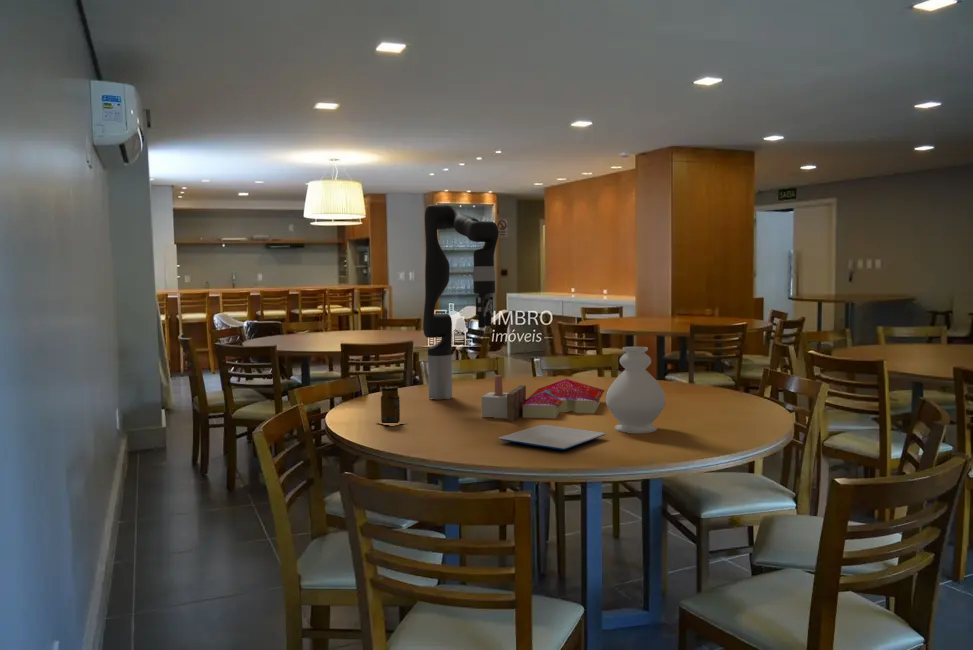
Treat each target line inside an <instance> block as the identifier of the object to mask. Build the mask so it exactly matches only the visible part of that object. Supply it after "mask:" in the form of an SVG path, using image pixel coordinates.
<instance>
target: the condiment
mask: <svg viewBox="0 0 973 650" xmlns="http://www.w3.org/2000/svg"><path fill="white" fill-rule="evenodd" d="M400 401H401V400H400V395H399V388H398V386H393V385H391V386H382V387H381V396H380V418H381V419H380V421H381V422H382V423H398V422H401V421H400V419H401V418H400V417H401V413H400V412H401V408H400V407H401V406H400Z"/></svg>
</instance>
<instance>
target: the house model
mask: <svg viewBox="0 0 973 650" xmlns="http://www.w3.org/2000/svg"><path fill="white" fill-rule="evenodd" d="M605 391H606V390H605V389H602V388H598V387H594V386H592V385H589V384H585V383H582V382H578V381H575V380H571V379H568V378H565V379H561V380H559V381H555V382H554V383H551V384H548V385H545V386H543V387H540V388H537V390H536V391H534V392H533V393H532V394H531V395H530V396H528V397H526V400H525V401H524V402H523V403H522V404H521V405H523V414H522V418H525V419H527V418H528V419H529V418H530V419H532V418H534V419H536V418H537V419H556V418H557V417H558V416H559V414H560V413H566V412H567V413H569V412H570V411H575V412H574V413H575V414H576V413H578V414H596V412H597V411H598V408H599V406H600V405H599V404H601V398H602V397H603V394H604V392H605ZM521 405H520V407H521ZM518 407H519V406H518ZM557 415H558V416H557ZM556 416H557V417H556Z"/></svg>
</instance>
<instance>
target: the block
mask: <svg viewBox="0 0 973 650" xmlns="http://www.w3.org/2000/svg"><path fill="white" fill-rule="evenodd" d="M508 393H509V392H503V396H495V391H494V392H493V391H491V392H487V393H486V394H484V395H482V396H481V418H482V417H494V418H493V419H507V394H508Z"/></svg>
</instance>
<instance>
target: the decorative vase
mask: <svg viewBox="0 0 973 650" xmlns="http://www.w3.org/2000/svg"><path fill="white" fill-rule="evenodd" d="M622 351H623V352H625V353H624V354H622V355H621V357H620V358H619V360H618V361H619V364H620V366H622V368H623V369H624V370H623V371H622V372H621V373H620V374H619V375H618V376H617V377H616V378H615V379H614V380H613V381H612V383H611V384H610V386H609V388H608V389H607V393H606V396H605V402H606V406H607V408H608V409H609V411H610V413H611V414H612V415H613V417H614V418H615V419H616V420H617V421H618V422H619V424H616V425H615V426H614V430H615V431H617V432H619V433H620V432H621V433H626V432H627V433H626V434H650V433H654V432H656V431H657V430H658V429H657V426H656V425H653V422H654V421H655V420H656V419H657V418H658V417H659V415H660V414H661V413H662V411H663V410H664V408H665V406H666V399H667V398H666V395H665V391H664V389H663V388H662V386H661V385H660V384H659V383H660V382H659V381H657V379H655V377H654V376H652V374H651V373H650V372H649V371H648V370H647V369H648V368H649V367H650V365H651V363H652V358H651V357H650V355H648V354H647V353H646V352H648V351H649V348H648V347H647V346H623V347H622Z"/></svg>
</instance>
